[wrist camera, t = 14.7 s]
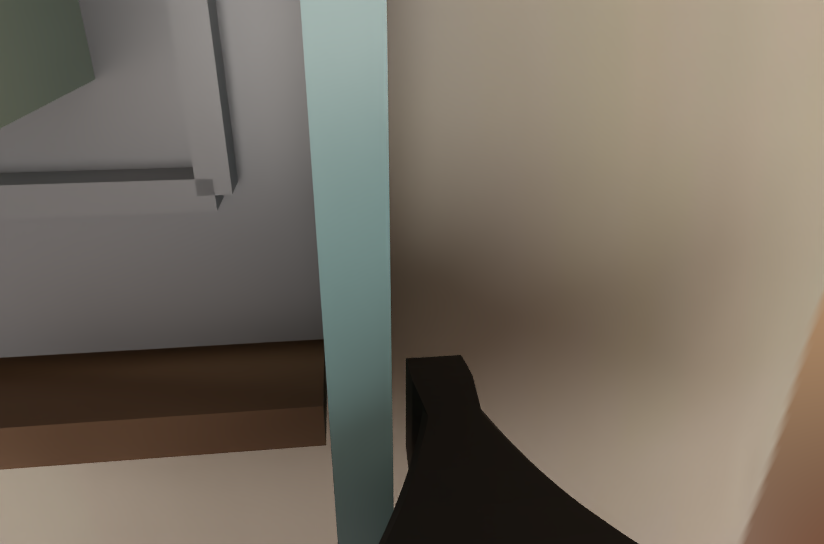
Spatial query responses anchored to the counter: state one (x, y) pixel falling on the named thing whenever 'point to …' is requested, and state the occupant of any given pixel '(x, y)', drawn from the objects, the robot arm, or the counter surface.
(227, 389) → the brown shallow rectangular box
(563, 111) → the counter surface
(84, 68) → the block
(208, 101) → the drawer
